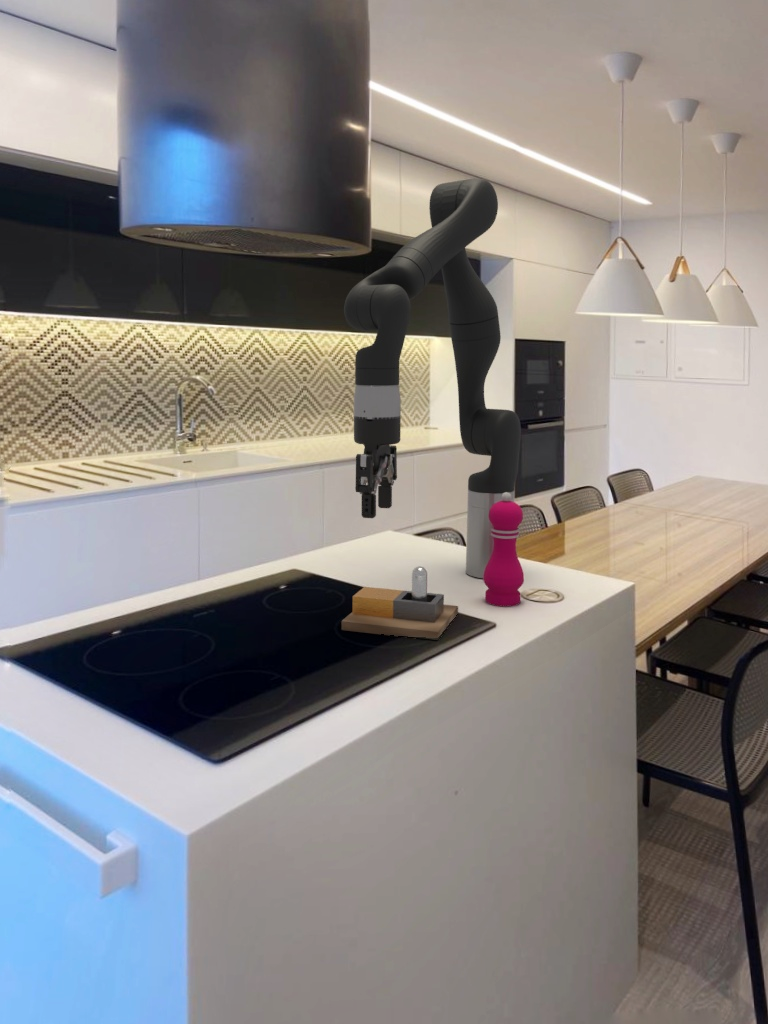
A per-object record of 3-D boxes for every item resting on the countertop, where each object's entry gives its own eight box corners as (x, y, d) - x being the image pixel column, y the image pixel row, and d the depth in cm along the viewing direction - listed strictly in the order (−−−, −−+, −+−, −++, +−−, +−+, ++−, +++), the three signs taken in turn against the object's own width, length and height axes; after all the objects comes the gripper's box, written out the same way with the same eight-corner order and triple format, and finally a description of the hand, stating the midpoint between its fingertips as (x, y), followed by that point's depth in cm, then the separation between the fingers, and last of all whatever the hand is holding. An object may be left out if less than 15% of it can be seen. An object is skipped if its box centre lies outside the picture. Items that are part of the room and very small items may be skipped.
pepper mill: (522, 608, 144) (526, 496, 140) (480, 606, 145) (484, 494, 141) (523, 597, 151) (528, 489, 147) (484, 594, 152) (487, 488, 148)
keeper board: (369, 605, 145) (369, 597, 145) (457, 614, 141) (458, 605, 140) (341, 630, 132) (341, 621, 132) (437, 641, 127) (438, 631, 127)
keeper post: (413, 612, 137) (414, 564, 135) (428, 613, 136) (429, 565, 134) (409, 616, 134) (410, 567, 133) (424, 618, 134) (425, 569, 132)
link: (364, 603, 141) (364, 586, 141) (443, 611, 137) (443, 594, 137) (352, 613, 136) (352, 596, 135) (434, 622, 131) (435, 604, 131)
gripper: (369, 410, 139) (369, 503, 142) (339, 416, 126) (340, 519, 129) (411, 411, 137) (410, 506, 140) (386, 417, 124) (385, 522, 127)
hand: (377, 512), depth 135 cm, fingers open, 8 cm apart
